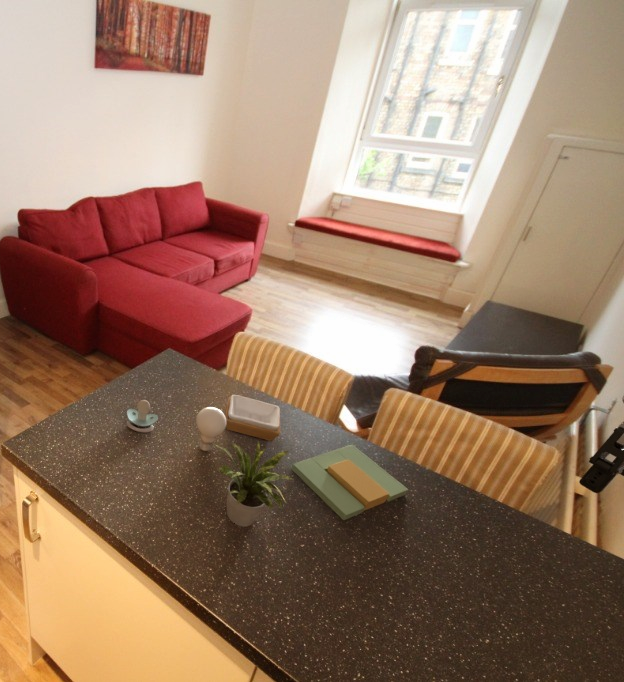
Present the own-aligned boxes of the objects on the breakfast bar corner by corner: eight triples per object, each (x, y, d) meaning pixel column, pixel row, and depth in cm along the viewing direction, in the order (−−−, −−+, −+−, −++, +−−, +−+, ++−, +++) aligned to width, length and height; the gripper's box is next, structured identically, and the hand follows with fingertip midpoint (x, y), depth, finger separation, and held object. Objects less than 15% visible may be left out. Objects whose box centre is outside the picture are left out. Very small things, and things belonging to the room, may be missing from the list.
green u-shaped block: (343, 520, 85) (346, 515, 84) (290, 468, 96) (292, 463, 95) (405, 494, 92) (408, 489, 91) (350, 449, 103) (352, 444, 102)
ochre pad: (344, 467, 97) (348, 458, 96) (385, 502, 90) (389, 493, 88) (324, 474, 95) (328, 465, 94) (364, 510, 87) (368, 502, 86)
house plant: (191, 535, 80) (208, 469, 71) (199, 479, 91) (214, 417, 83) (273, 558, 77) (300, 493, 69) (271, 497, 88) (294, 435, 80)
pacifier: (153, 437, 101) (158, 420, 106) (156, 416, 98) (161, 400, 103) (122, 429, 103) (128, 413, 108) (124, 408, 100) (130, 393, 105)
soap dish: (221, 431, 105) (225, 415, 102) (225, 407, 113) (229, 391, 110) (276, 446, 102) (281, 429, 99) (276, 420, 110) (281, 404, 107)
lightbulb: (184, 448, 99) (192, 409, 93) (200, 435, 103) (209, 397, 98) (209, 463, 95) (219, 424, 90) (224, 449, 99) (234, 410, 94)
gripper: (708, 415, 48) (614, 516, 56) (755, 391, 54) (663, 485, 62) (619, 378, 54) (545, 473, 62) (669, 359, 60) (595, 449, 68)
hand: (604, 479), depth 62 cm, fingers open, 8 cm apart
